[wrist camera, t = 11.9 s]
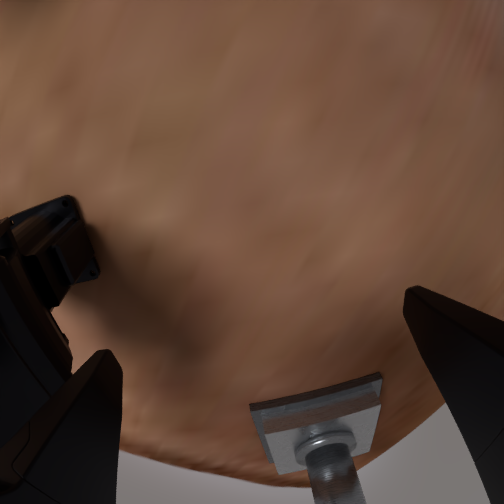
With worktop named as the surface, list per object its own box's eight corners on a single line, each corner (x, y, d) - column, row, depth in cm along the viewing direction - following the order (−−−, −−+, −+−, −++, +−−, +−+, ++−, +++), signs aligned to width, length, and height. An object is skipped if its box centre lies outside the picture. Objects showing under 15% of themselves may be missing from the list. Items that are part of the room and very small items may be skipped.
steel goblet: (283, 459, 30) (303, 564, 18) (313, 430, 28) (345, 552, 15) (333, 459, 32) (359, 552, 20) (366, 430, 29) (403, 535, 17)
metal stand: (268, 457, 36) (271, 478, 33) (249, 404, 30) (252, 431, 27) (367, 432, 36) (375, 452, 33) (379, 371, 30) (391, 395, 27)
